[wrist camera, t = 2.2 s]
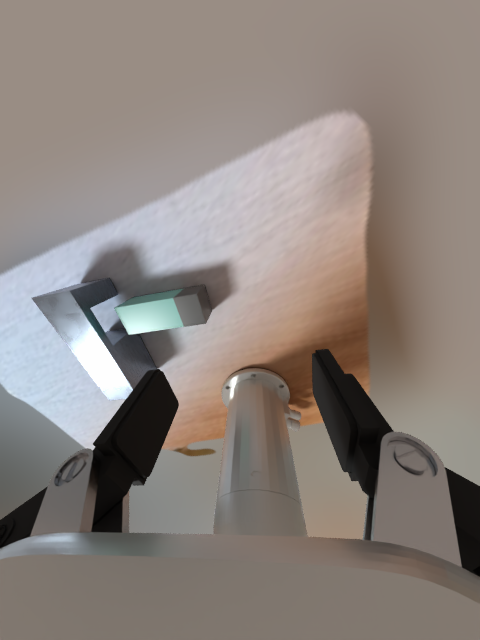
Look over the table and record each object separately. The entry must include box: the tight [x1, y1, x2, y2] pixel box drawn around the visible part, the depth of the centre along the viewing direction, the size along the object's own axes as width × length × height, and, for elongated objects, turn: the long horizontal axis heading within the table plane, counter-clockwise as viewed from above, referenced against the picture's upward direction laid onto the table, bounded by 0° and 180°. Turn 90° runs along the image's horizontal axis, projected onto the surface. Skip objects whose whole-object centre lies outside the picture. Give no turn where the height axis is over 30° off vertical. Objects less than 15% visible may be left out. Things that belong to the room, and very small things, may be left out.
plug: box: [114, 285, 212, 335], centre depth 24 cm, size 11×4×4 cm, turn 101°
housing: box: [32, 278, 157, 400], centre depth 26 cm, size 5×17×6 cm, turn 11°
